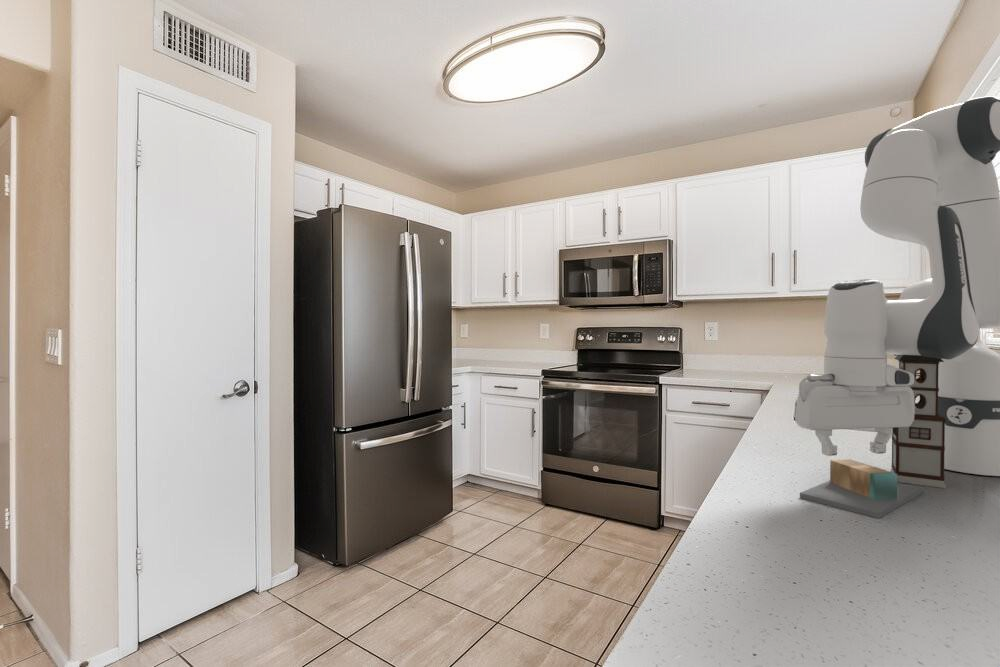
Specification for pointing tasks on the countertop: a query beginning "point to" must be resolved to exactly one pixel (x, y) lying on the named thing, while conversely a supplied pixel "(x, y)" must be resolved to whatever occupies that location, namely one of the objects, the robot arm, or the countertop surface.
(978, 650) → the countertop surface
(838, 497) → the rubber mat
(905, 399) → the robot arm
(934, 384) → the miniature building
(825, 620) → the countertop surface
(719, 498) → the countertop surface
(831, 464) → the oak block
